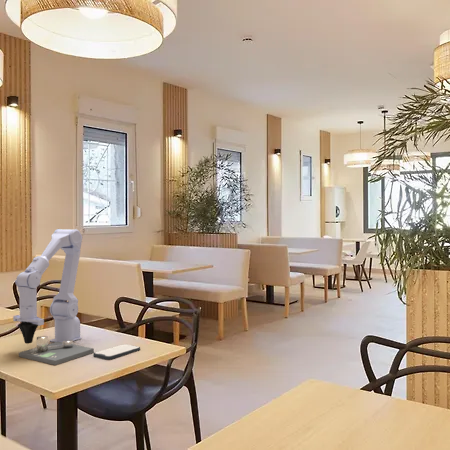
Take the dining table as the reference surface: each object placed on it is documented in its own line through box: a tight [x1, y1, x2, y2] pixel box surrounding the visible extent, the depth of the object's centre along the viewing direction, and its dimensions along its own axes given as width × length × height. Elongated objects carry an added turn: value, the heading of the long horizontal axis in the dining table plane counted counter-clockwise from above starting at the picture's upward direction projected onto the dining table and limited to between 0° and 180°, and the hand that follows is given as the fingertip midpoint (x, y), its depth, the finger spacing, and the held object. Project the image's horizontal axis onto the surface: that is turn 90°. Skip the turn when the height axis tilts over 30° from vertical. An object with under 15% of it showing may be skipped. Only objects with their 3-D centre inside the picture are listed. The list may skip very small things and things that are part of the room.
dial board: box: [18, 342, 95, 366], centre depth 174 cm, size 17×19×2 cm
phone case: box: [92, 343, 141, 361], centre depth 176 cm, size 9×2×16 cm
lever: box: [30, 335, 74, 352], centre depth 175 cm, size 15×4×5 cm, turn 125°
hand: (28, 342), depth 176 cm, fingers closed
